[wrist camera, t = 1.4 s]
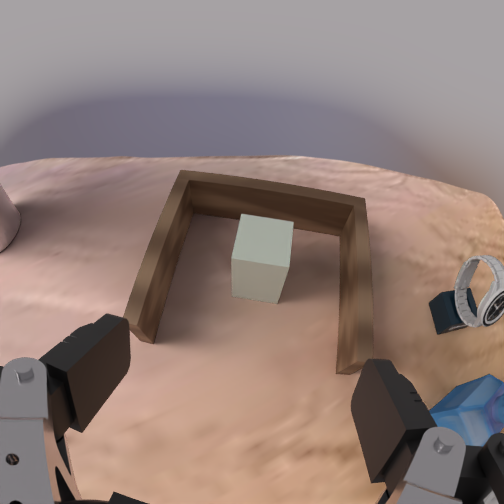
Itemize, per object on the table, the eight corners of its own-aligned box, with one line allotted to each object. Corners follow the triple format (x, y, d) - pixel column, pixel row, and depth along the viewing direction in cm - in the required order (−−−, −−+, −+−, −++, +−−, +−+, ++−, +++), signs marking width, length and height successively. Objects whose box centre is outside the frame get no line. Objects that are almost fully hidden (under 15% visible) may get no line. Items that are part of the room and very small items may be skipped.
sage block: (239, 257, 35) (241, 213, 29) (282, 264, 35) (293, 221, 29) (231, 296, 33) (231, 258, 26) (277, 303, 33) (289, 267, 26)
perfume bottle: (456, 386, 27) (526, 357, 17) (473, 423, 24) (545, 405, 14) (423, 415, 26) (497, 397, 16) (441, 455, 23) (516, 449, 13)
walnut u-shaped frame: (185, 203, 39) (180, 169, 34) (350, 228, 39) (364, 198, 34) (140, 340, 29) (121, 321, 24) (349, 374, 28) (372, 362, 23)
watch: (440, 349, 30) (500, 314, 21) (424, 290, 34) (473, 242, 25) (469, 340, 30) (526, 305, 21) (453, 286, 35) (501, 242, 25)
